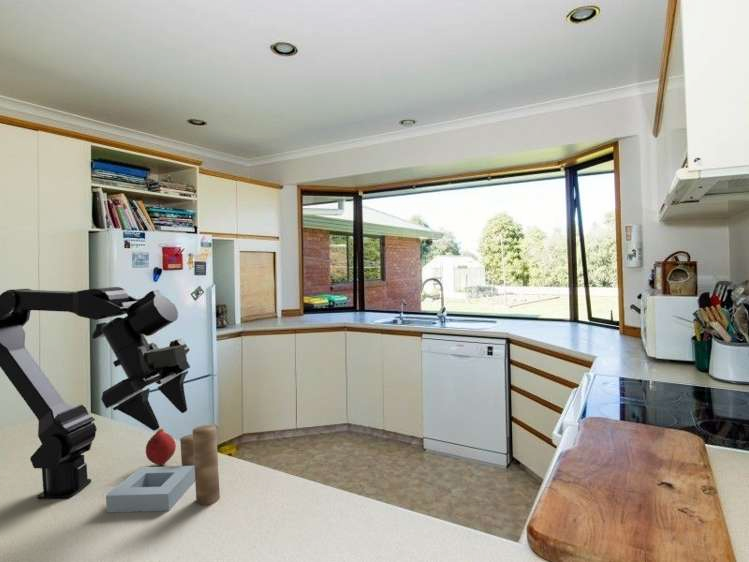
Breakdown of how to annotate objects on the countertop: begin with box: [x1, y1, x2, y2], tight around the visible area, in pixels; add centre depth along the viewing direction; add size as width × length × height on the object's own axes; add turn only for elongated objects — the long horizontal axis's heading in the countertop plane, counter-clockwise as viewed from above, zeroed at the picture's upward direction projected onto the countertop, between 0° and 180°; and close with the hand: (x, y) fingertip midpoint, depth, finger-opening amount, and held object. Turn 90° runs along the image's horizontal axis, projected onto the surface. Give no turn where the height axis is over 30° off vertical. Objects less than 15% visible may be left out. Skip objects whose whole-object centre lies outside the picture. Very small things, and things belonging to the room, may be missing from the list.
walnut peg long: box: [192, 424, 221, 506], centre depth 82 cm, size 4×4×13 cm
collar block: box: [105, 465, 195, 513], centre depth 84 cm, size 11×11×3 cm
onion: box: [145, 427, 177, 467], centre depth 97 cm, size 6×6×8 cm
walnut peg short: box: [179, 433, 194, 466], centre depth 94 cm, size 4×4×7 cm
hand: (171, 420), depth 84 cm, fingers open, 9 cm apart
